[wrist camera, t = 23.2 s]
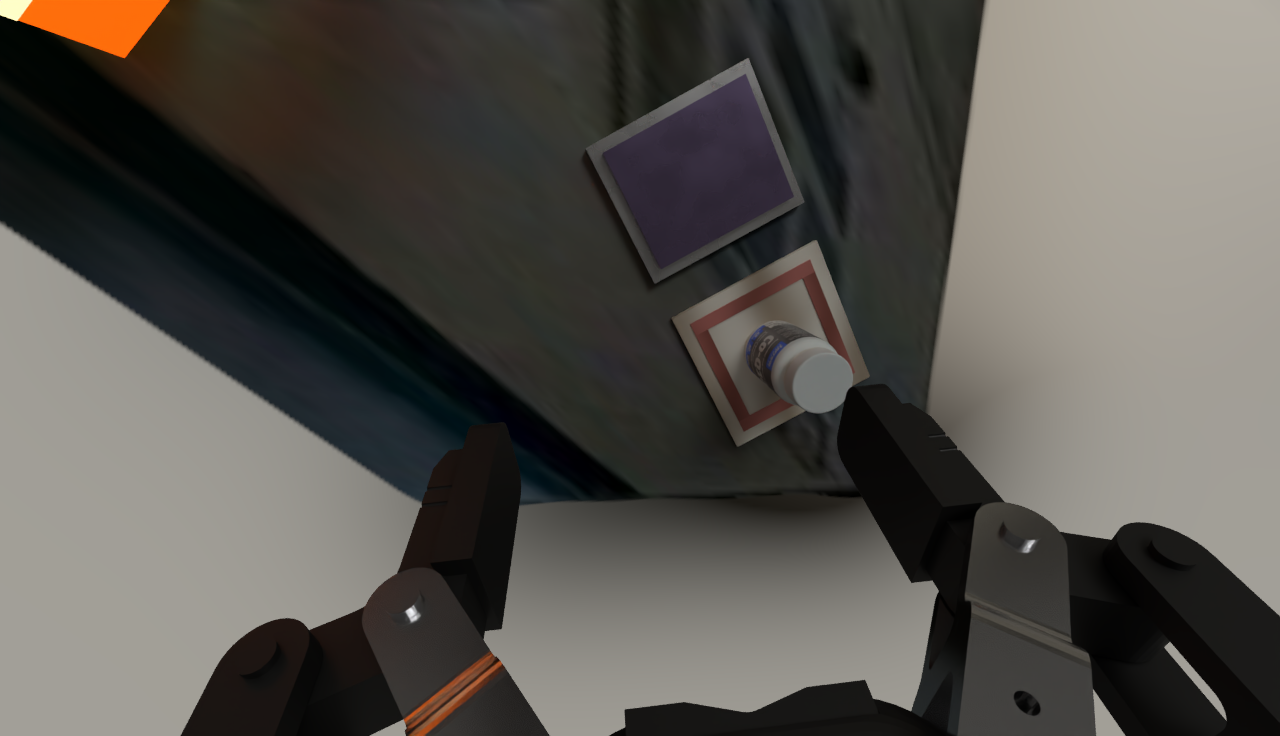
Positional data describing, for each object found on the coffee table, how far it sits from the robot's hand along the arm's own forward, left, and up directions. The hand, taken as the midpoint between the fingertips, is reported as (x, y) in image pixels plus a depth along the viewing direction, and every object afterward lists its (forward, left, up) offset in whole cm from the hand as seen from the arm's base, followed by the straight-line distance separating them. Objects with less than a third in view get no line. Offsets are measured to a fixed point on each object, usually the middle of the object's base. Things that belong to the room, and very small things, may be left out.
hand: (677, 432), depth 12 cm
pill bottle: (+13, +3, -26) cm, 29 cm away
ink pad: (+1, +10, -26) cm, 28 cm away
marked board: (+13, +3, -26) cm, 29 cm away
